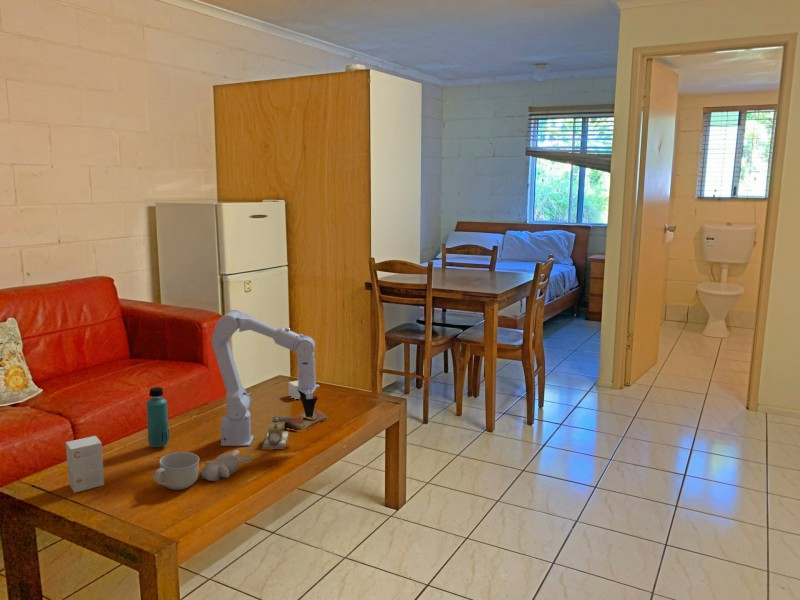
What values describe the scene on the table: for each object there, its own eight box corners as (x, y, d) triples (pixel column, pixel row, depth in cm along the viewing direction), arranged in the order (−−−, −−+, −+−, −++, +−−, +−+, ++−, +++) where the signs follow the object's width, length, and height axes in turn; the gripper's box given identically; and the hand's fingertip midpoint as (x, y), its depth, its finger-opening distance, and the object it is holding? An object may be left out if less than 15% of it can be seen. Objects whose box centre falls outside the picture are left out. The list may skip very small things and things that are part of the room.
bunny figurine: (193, 465, 186) (232, 443, 198) (195, 480, 187) (234, 457, 199) (214, 474, 181) (254, 450, 192) (216, 489, 182) (255, 465, 194)
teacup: (186, 472, 189) (185, 447, 188) (207, 484, 183) (207, 458, 181) (142, 489, 179) (141, 462, 177) (163, 502, 172) (162, 474, 170)
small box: (98, 477, 185) (96, 435, 183) (104, 485, 180) (102, 442, 178) (68, 484, 180) (65, 441, 178) (73, 493, 175) (70, 449, 173)
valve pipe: (280, 446, 208) (280, 431, 207) (266, 446, 208) (266, 431, 207) (284, 433, 219) (284, 418, 218) (271, 433, 219) (271, 418, 218)
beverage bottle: (162, 452, 203) (160, 392, 199) (143, 450, 204) (140, 390, 200) (173, 444, 209) (171, 386, 205) (155, 442, 210) (152, 384, 206)
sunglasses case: (303, 433, 221) (295, 416, 221) (289, 439, 224) (281, 422, 224) (332, 417, 236) (324, 401, 237) (318, 423, 240) (310, 407, 240)
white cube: (302, 393, 262) (302, 379, 261) (308, 398, 257) (308, 383, 256) (288, 396, 258) (288, 381, 257) (294, 400, 254) (295, 386, 253)
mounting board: (284, 449, 207) (284, 446, 207) (262, 449, 207) (262, 446, 207) (288, 434, 220) (288, 431, 220) (268, 433, 220) (268, 431, 219)
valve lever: (271, 423, 211) (271, 418, 211) (272, 420, 213) (272, 415, 213) (302, 423, 212) (302, 418, 211) (303, 420, 214) (303, 415, 214)
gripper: (321, 379, 203) (322, 419, 206) (316, 366, 217) (317, 404, 219) (299, 380, 201) (300, 421, 204) (295, 368, 215) (297, 406, 218)
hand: (308, 412), depth 212 cm, fingers open, 7 cm apart
